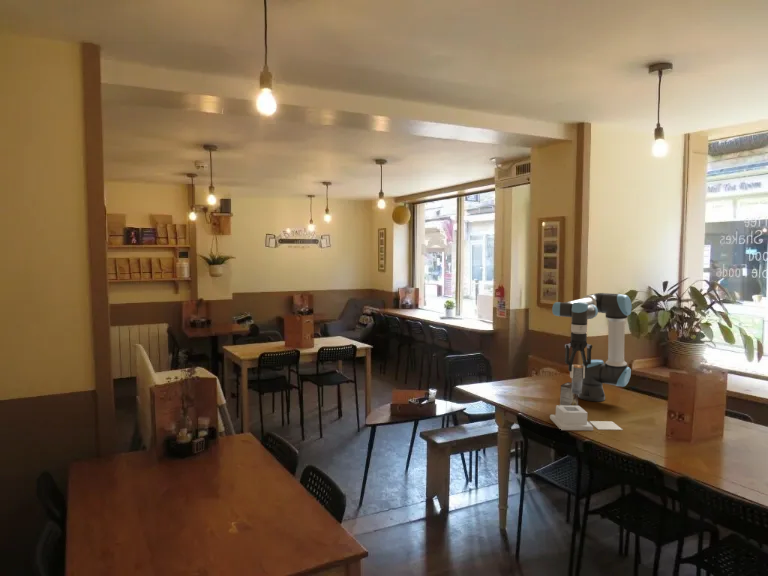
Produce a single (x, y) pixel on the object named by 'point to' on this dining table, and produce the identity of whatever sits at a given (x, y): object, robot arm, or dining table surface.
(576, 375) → the copper top metal cylinder
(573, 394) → the coffee box
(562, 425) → the housing
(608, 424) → the pad
